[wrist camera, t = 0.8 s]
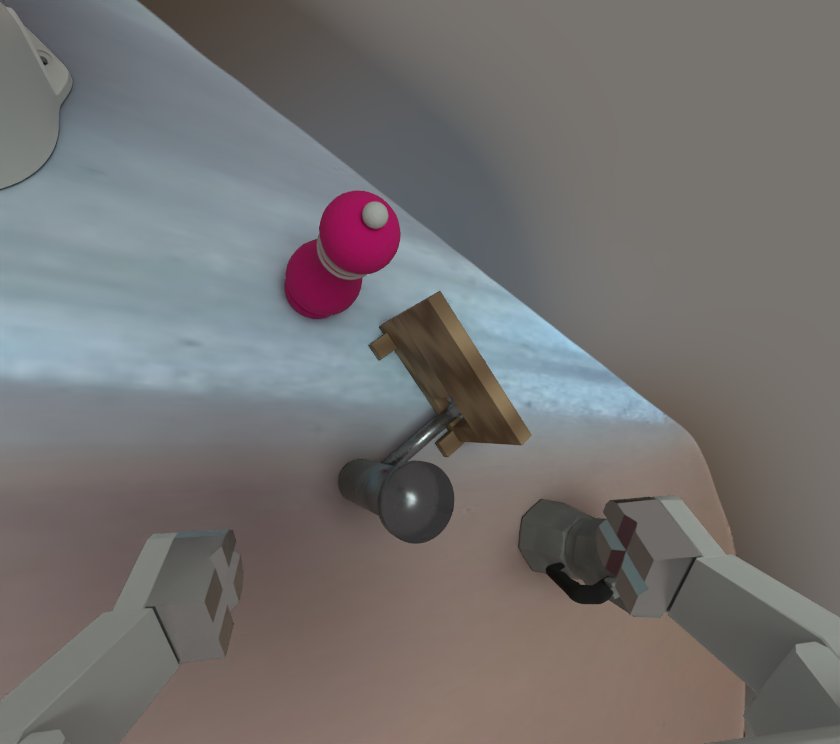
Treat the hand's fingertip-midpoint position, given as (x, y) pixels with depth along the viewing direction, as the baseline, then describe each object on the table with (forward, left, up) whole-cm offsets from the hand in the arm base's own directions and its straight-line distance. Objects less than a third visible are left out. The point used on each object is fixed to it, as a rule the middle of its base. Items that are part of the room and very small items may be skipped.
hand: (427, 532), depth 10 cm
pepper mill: (-10, +14, -38) cm, 42 cm away
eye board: (+5, +19, -38) cm, 43 cm away
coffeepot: (+30, +20, -38) cm, 53 cm away
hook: (+9, +13, -38) cm, 41 cm away
